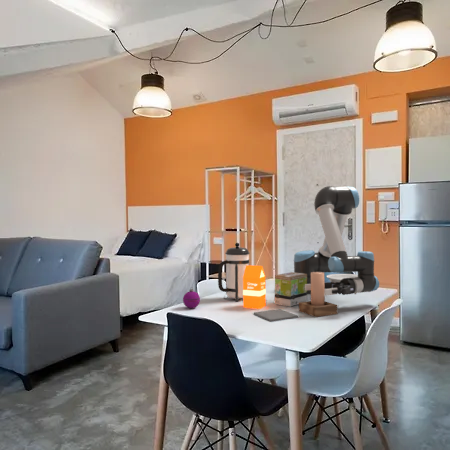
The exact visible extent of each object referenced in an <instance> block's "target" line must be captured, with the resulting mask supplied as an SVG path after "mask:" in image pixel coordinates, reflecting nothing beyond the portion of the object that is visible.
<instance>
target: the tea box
mask: <svg viewBox="0 0 450 450" xmlns="http://www.w3.org/2000/svg"><path fill="white" fill-rule="evenodd" d="M305 284H307V274H303V273H294V271H293V272H292V271H290V272H285V273H280V274H275V275H274V305H277V306H278V305H279V306H284V307H293V306H296V305H299V303H300V302H308V294H307V291H306V290H305Z"/></svg>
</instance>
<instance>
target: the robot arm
mask: <svg viewBox="0 0 450 450" xmlns="http://www.w3.org/2000/svg"><path fill="white" fill-rule="evenodd" d="M359 204H360V195H359V192H358V190H357V188H355V187H354V186H348V185H345V186H341V185H340V186H337V185H336V186H333V185H329V186H324V187H322V188H321V189H320V190H319V191H318V192H317V193H316V196H315V197H314V204H313V205H314V210H315V213H316V214H317V215H318V218H319V220H320V223H321V226H322V231H323V234H324V239H323V244H322V246H320V247H319V248H318V251H317V252H315V251H314V250H310V249H308V250H302V251H301V250H300V251H297V252H295V253H294V256H293V272H294V273H303V274H307V284H305V290H306V291H307V295H308V294H311V272H323V273H336V274H342V273H357V275H358V277H352V278H344V279H342V280H341V281H340V282H336V283H334V282H330V281H329V282H326V281H324V285H325V296H335V295H342V296H344V295H353V294H354V295H357V294H360V293H370V292H375V291H377V290H378V289H379V287H380V281H379V278H378V277H377V276H376V275H375V255H374V252H372V251H367V250H366V251H358V252H357V253H356V255H348V253H347V252H348V251H347V250H346V247H345V244H344V243H345V242H344V240H343V237H342V236H343V232H344V229H345V227H346V222H347V218H348V216H349V215H352V211H353V209H356V208H358V207H359Z"/></svg>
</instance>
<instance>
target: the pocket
mask: <svg viewBox="0 0 450 450" xmlns="http://www.w3.org/2000/svg"><path fill="white" fill-rule="evenodd" d="M298 312H301V313H303V314H305V315H308V316H312V317H314V318H318V317H319V318H320V317H327V316H332V315H338V304H335V303H332V302H328V301H325V305H323V306H313V305H311V300H310V301H309V300H307V302H300V303H299V304H298Z"/></svg>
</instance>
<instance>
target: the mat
mask: <svg viewBox="0 0 450 450" xmlns="http://www.w3.org/2000/svg"><path fill="white" fill-rule="evenodd" d="M253 315H254V316H257V317H260V318H262V319H264V320H266V321H269V322H276V321H277V322H279V321H282V320H283V321H284V320H291V319H297V318H299V315H298V314H295V313H292V312H289V311H286V310H284V309H281V308H277V309H272V310H264V311H263V310H262V311H254V312H253Z"/></svg>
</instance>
